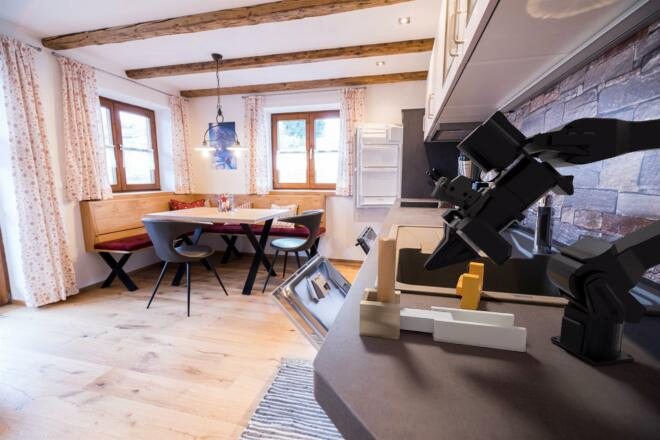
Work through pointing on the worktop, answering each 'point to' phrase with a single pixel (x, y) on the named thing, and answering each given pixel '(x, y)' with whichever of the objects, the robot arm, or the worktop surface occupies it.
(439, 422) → the worktop surface
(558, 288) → the robot arm
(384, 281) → the slide bolt
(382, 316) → the socket
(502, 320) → the sleeve
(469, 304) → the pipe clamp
